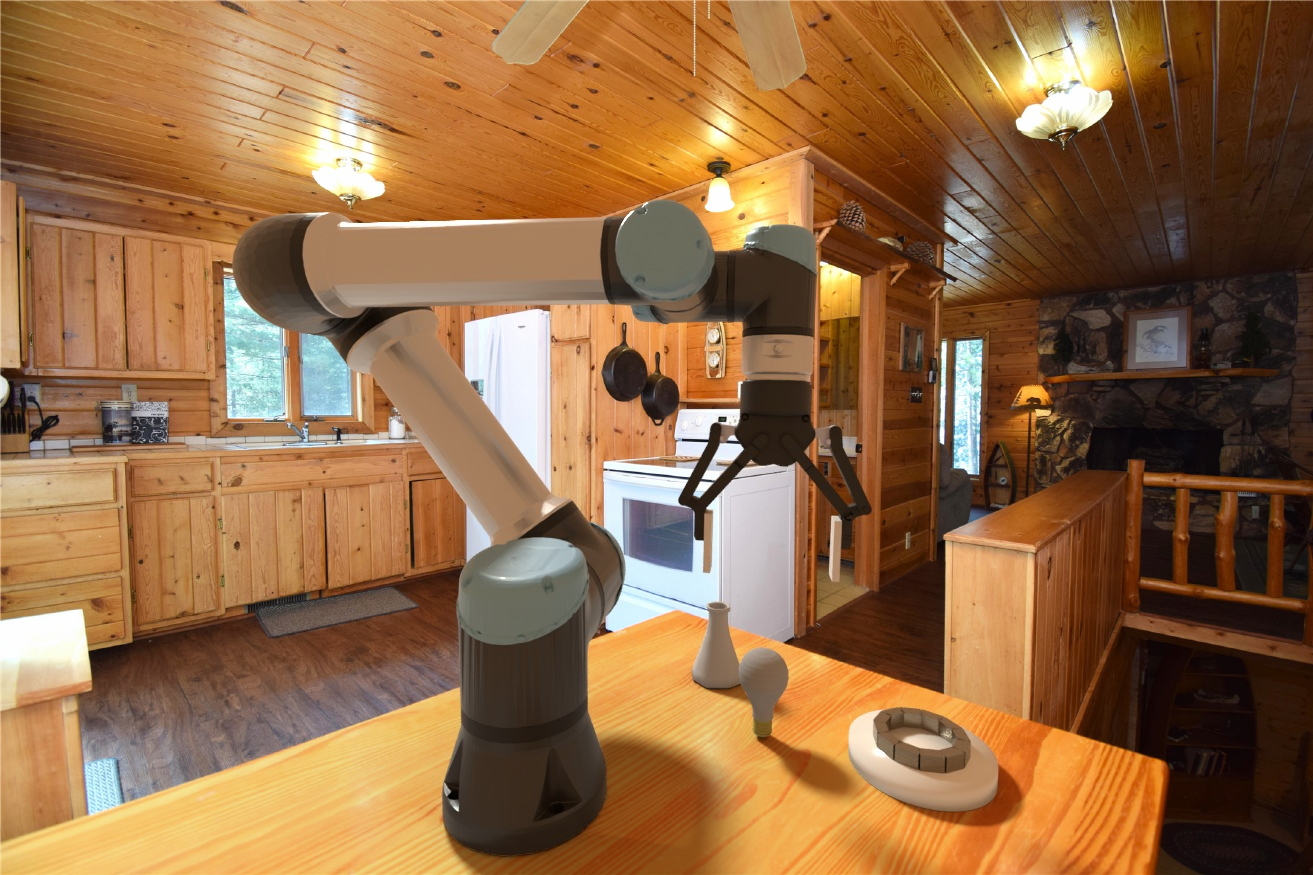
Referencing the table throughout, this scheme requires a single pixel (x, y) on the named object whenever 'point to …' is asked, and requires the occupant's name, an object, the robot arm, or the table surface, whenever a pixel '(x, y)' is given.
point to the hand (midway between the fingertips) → (769, 574)
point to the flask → (717, 652)
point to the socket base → (918, 786)
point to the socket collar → (921, 757)
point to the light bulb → (763, 685)
